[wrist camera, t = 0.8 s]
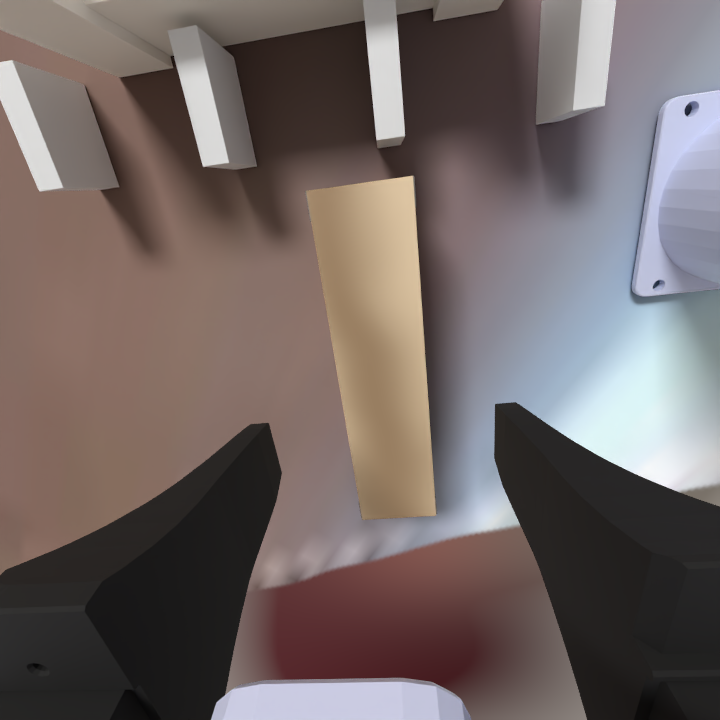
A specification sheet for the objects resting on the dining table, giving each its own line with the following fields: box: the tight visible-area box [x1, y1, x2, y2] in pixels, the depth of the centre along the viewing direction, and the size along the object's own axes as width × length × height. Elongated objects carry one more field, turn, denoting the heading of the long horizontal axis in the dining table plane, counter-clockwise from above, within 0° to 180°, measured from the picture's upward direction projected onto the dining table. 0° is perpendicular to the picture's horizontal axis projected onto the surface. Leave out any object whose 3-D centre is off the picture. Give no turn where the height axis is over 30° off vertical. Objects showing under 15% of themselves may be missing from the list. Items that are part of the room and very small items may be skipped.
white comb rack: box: [0, 0, 616, 191], centre depth 13 cm, size 21×6×7 cm, turn 97°
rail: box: [305, 176, 437, 520], centre depth 18 cm, size 4×15×5 cm, turn 7°
